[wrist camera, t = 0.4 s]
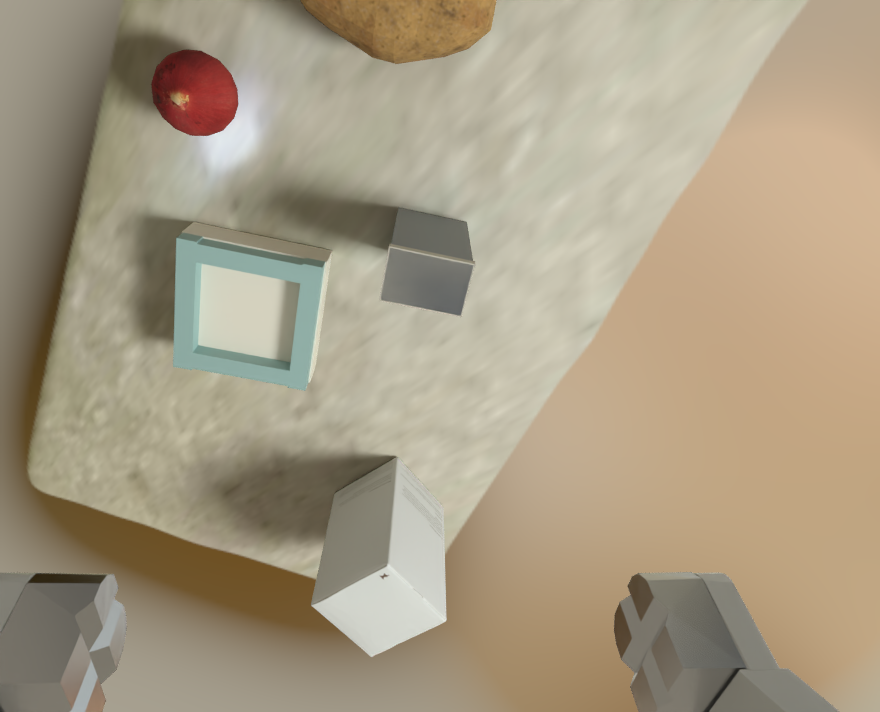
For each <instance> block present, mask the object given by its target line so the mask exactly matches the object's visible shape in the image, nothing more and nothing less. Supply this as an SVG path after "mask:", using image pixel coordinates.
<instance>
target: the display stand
mask: <svg viewBox="0 0 880 712" xmlns="http://www.w3.org/2000/svg"><path fill="white" fill-rule="evenodd" d="M331 256H332V250H327V249H322V248H317V247H313V246H308V245H303V244H298V243H293V242H288V241H284V240H279V239H274V238H269V237H264V236H259V235H255V234H250V233H245V232H240V231H235V230H230V229H226V228H221V227H216V226H211V225H206V224H201V223H197V222H193V223H192V224H191V225H189V226H188V227H187V228H186V229H184V230H183V231H182V232H181V235H179V236H178V237H177V238H176V273H175V315H174V357H173V367H178V368H183V369H189V370H192V369H197V370H202V371H208V372H213V373H219V374H224V375H230V376H235V377H241V378H246V379H252V380H257V381H263V382H268V383H274V384H279V385H285V386H288V388H293V389H299V390H304V391H305V390H306V387H307V384H308V382H309V383H310V381H311V378H312V375H313V372H314V369H315V366H316V359H317V352H318V345H319V339H320V332H321V325H322V318H323V311H324V304H325V297H326V290H327V283H328V277H329V270H330V263H331Z"/></svg>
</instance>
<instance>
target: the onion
mask: <svg viewBox="0 0 880 712" xmlns="http://www.w3.org/2000/svg"><path fill="white" fill-rule="evenodd" d="M151 85H152V94H153V102H154V104H155V105H156V107H157V109H158V110H159V112H160V114H161V115H162V117H163V118H164V119H165V120H166V121H167V122H168V123H169V124H171V125H172V126H173V127H174V128H175V129H177V130H179V131H182V132H184V133H186V134H189V135H192V136H208V135H212V134H215V133H217V132H220V131H223V130H224V129H225V128H226V126H227V125H228V124H229V123H230V122H231V121H232V120H233V119H234V117H235V114H236V110H237V107H238V93H237V88H236V85H235V83H234V80H233V78H232V75H231V73H230V72H229V71H228V70H227V69H226V68H225V66H224V65H223V64H222V63H221V62H220V61H219V60H218V59H216V58H214V57H212V56H210V55H208V54H206V53H204V52H202V51H195V50H182V51H179V52H175V53H172V54H170V55H168V56H167V57H166V58H165V59H164V60H163V61H162V62H161V63H160V64H159V65H158V66H157V67H156V70H155V74H154V77H153V80H152V84H151Z"/></svg>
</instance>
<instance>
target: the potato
mask: <svg viewBox="0 0 880 712" xmlns="http://www.w3.org/2000/svg"><path fill="white" fill-rule="evenodd" d="M301 2H302V4H303V5H304V7H305V8H306V10H307V11H308V12H310V13H311V14H312V15H313V16H314V17H316V18H317V19H318V20H319V21H321V22H322V23H323V24H324V25H326V26H327V27H328V28H329V29H331V30H332V31H334V32H335V33H337V34H338V35H340V36H341V37H343V38H344V39H346V40H347V41H349V42H350V43H352V44H353V45H355V46H356V47H358V48H359V49H361V50H362V51H364V52H365V53H367V54H368V55H370V56H371V57H373V58H377V59H380V60H384V61H388V62H392V63H395V64H399V63H406V62H413V61H420V60H427V59H433V58H440V57H445V56H448V55H451V54H454V53H457V52H460V51H463V50H466V49H468V48H470V47H471V46H472V45H473V44H474V43H476V42H477V41H478V40H479V39H481V38H482V37H483V36H484V35H485V34H487V33H488V32H489V31H490V30H491V26H492V21H493V16H494V10H495V5H496V0H301Z"/></svg>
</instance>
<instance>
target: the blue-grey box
mask: <svg viewBox="0 0 880 712" xmlns="http://www.w3.org/2000/svg"><path fill="white" fill-rule="evenodd" d="M474 268H475V261H473V258H472V252H471V246H470V239H469V233H468V227H467V222H464V221H459V220H454V219H450V218H445V217H440V216H436V215H431V214H427V213H422V212H417V211H413V210H408V209H404V208H398V213H397V217H396V222H395V227H394V232H393V237H392V242H391V244H389V249H388V255H387V260H386V265H385V271H384V276H383V281H382V286H381V292H380V297H379V301H383V302H388V303H393V304H398V305H403V306H408V307H413V308H418V309H423V310H428V311H433V312H438V313H443V314H448V315H453V316H458V317H462V314H463V310H464V306H465V302H466V298H467V295H468V291H469V287H470V283H471V279H472V275H473V271H474Z"/></svg>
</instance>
